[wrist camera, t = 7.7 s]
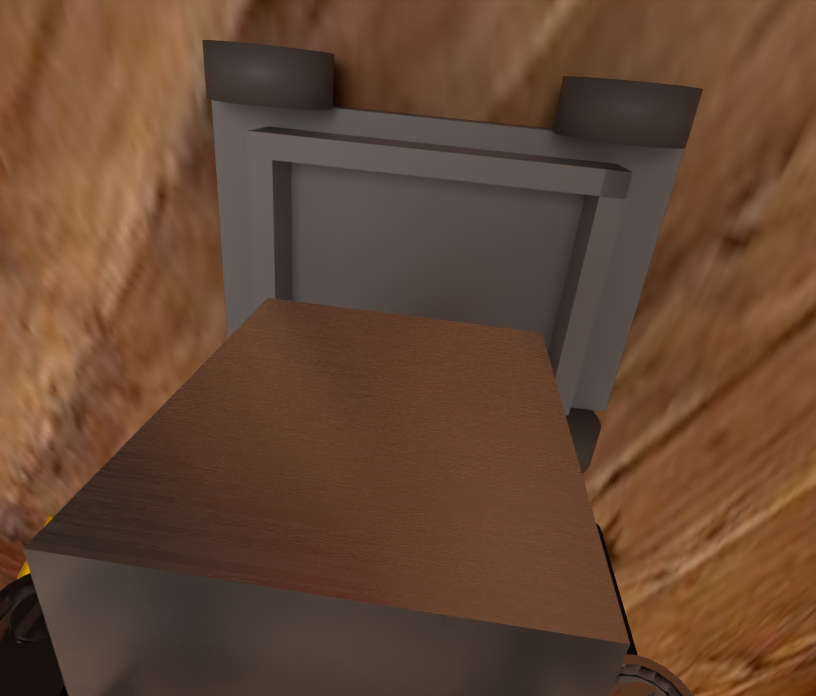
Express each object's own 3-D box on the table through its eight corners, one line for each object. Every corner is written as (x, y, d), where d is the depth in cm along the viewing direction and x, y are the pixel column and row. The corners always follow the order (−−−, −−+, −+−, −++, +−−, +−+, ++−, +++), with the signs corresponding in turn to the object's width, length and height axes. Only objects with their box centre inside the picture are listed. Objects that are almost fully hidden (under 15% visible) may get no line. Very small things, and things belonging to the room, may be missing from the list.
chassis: (688, 90, 22) (741, 91, 18) (590, 427, 30) (610, 487, 26) (222, 44, 24) (164, 35, 19) (241, 379, 31) (202, 429, 27)
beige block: (541, 332, 10) (629, 644, 4) (482, 601, 13) (489, 978, 7) (267, 297, 10) (22, 547, 4) (274, 569, 13) (135, 910, 8)
